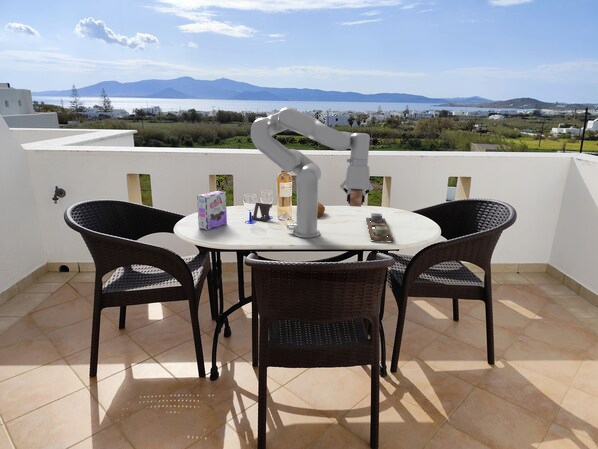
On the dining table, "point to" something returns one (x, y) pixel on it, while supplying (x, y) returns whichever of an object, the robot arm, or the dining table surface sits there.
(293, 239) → the dining table surface
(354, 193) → the terracotta block
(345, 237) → the dining table surface
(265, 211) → the portable electronic device stand
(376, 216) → the walnut puzzle base
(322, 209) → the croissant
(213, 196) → the candy box
